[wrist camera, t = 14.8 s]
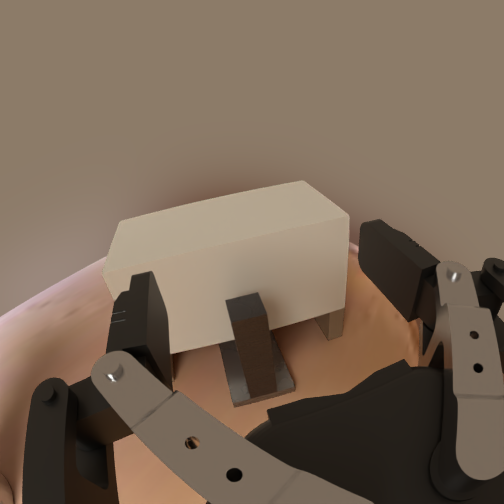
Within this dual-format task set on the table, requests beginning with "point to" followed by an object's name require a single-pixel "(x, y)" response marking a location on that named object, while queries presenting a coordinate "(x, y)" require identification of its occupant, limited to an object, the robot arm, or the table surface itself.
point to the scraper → (253, 354)
